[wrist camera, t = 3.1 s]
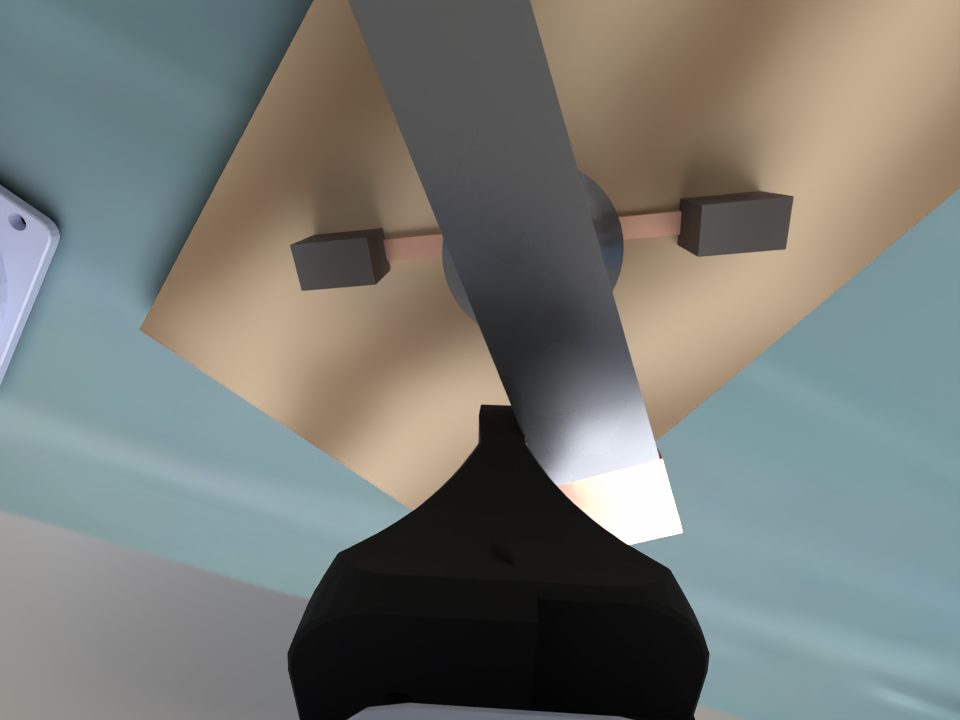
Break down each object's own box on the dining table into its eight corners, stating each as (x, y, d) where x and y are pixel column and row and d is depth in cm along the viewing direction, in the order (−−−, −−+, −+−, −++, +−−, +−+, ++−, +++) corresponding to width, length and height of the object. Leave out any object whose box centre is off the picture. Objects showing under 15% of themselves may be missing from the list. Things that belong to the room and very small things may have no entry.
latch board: (160, 319, 16) (99, 348, 14) (579, -450, 9) (603, -666, 7) (502, 549, 19) (501, 606, 17) (1012, 113, 12) (1133, 103, 10)
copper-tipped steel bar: (346, 7, 10) (259, -67, 7) (529, -87, 9) (538, -227, 6) (532, 466, 14) (538, 565, 11) (667, 430, 13) (718, 524, 10)
